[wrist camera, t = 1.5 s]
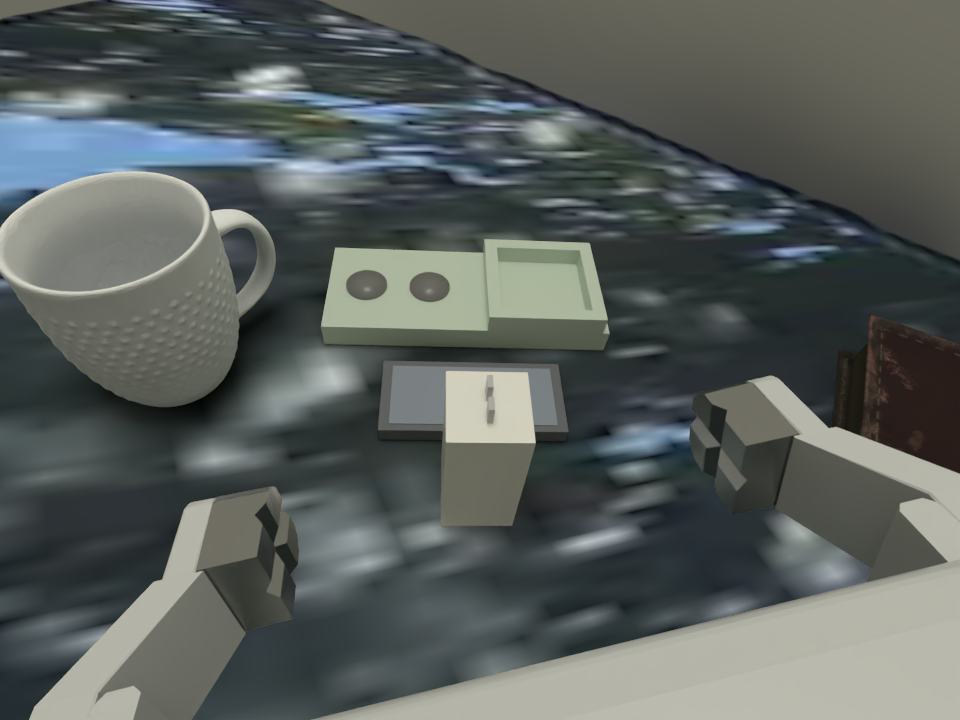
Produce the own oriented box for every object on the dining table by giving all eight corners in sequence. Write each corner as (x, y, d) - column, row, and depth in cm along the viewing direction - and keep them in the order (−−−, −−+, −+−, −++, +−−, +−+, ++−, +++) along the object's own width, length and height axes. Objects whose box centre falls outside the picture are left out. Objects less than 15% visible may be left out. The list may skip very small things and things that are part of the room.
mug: (243, 272, 49) (198, 127, 39) (331, 340, 46) (305, 198, 35) (65, 373, 42) (-48, 224, 32) (152, 465, 38) (53, 329, 28)
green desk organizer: (324, 344, 45) (318, 312, 42) (337, 265, 51) (333, 233, 48) (603, 350, 47) (614, 320, 44) (586, 273, 53) (595, 243, 50)
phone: (378, 439, 40) (377, 429, 39) (384, 370, 44) (383, 360, 43) (565, 441, 41) (568, 431, 40) (555, 374, 45) (558, 363, 44)
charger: (440, 526, 37) (446, 429, 28) (441, 462, 39) (446, 356, 31) (512, 525, 37) (539, 430, 28) (507, 462, 40) (530, 358, 31)
